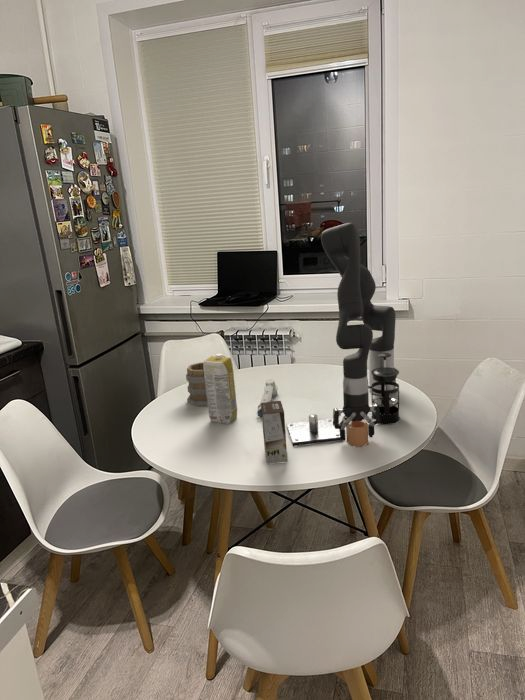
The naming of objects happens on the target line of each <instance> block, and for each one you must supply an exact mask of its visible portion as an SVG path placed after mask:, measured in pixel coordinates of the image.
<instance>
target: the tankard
mask: <svg viewBox="0 0 525 700" xmlns="http://www.w3.org/2000/svg"><path fill="white" fill-rule="evenodd" d="M223 357H226V356H224V355H223ZM203 362H204V361H202V362H196V363H193V364H190V365H189V366H188V367H187V368H186V375H185V378H186V381H187V382H188V385H187V393H189V396H188V397H187V399H186V402H187V403H188V404H190V405H192V406H194V407H208V403H207V395H206V386H205V378H204V368H203Z"/></svg>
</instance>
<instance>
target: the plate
mask: <svg viewBox="0 0 525 700" xmlns="http://www.w3.org/2000/svg"><path fill="white" fill-rule="evenodd" d="M286 430H287V433H288V435H289V438H290V441H291V444H292V446H293V447H296V446H305V445H313V444H321V443H330V442H341V441H343V440H342V439H341V437H340V432H339V429H335V427H334V425H333V418H325V419H318V415H317V414H315V413H311V414H308V421H299V422H291V423H286Z"/></svg>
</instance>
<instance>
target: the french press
mask: <svg viewBox="0 0 525 700" xmlns="http://www.w3.org/2000/svg"><path fill="white" fill-rule="evenodd" d="M378 356H379V357H383V360H384V367H381V368H376V369H373V370H372V371H371V374H372V375H373V379H374V380H375V381H378V382H375V383H373V384H372V385H371V386H369V385H368V386H369V389H370V388H371V392H372V393H371V392H370V393H371V405H373V404H374V403H376V404H377V405H378V406H379V410H380V424H379V425H393V424H397V423H399V421H400V419H401V417H400V385H399V383H397V382H396V383H395V382H392V381H394V380H395V379H397V377H398V375H399V374H400V370H398V369H397V368H396V369H394V368H389V367H385V360H386V357H390V356H391V354H389V353H380V354H379V355H378ZM377 385H381V390H378V389H375V388H373V387H374V386H377ZM386 385H393V386H396V389H393V390H386ZM373 392H375V393H378V394H381V395H380V396H377V397H375V398H373V395H374V394H373ZM396 393H397V398H395V397H392V396H390V395H392V394H396ZM369 413H371V416H370V419H371V420H373V419H374V412H373V411H372V410H370V411H369Z"/></svg>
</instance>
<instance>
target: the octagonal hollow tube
mask: <svg viewBox="0 0 525 700" xmlns="http://www.w3.org/2000/svg"><path fill="white" fill-rule="evenodd" d="M368 424H369V423H368V422H367V421H366V420H364V419H363V420H362V421H355V422H352V421H351V422H350V423H349V424H348V425H347V426H346V427H345V437H346V442H347V444H348V445H349V446H352V447H356V448H357V447H364V446H365V447H366V445H367V444H368V443H369V434H368Z"/></svg>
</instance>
